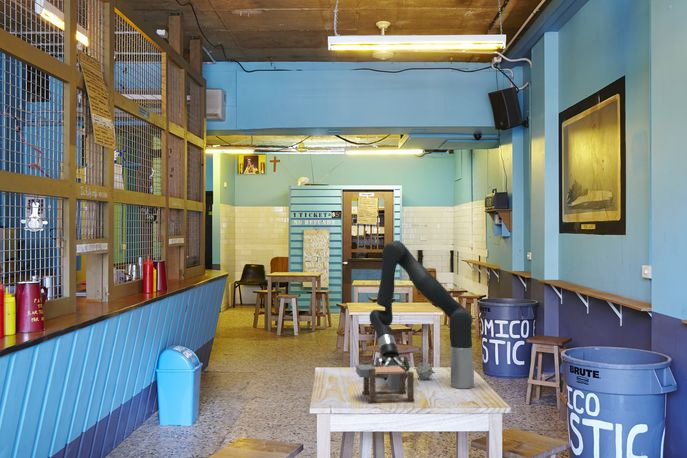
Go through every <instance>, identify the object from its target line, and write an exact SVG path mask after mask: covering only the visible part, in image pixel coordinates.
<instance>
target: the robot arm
mask: <svg viewBox="0 0 687 458" xmlns="http://www.w3.org/2000/svg"><path fill="white" fill-rule="evenodd" d="M381 257H382V258H381V259H382V260H381V262H382V263H381V274H380V281H379V287H378V288H379V289H378V293H377V298H376V304H377V305H378V306H380V307H383V308H384V310H381V309H373V310H371V312H370V314H369V322H370V324H371V326H372V328H373V329H374V331H375V333H376V335H377V341H378V348H379V351H380V356H381V358H380V357H378V356H377V357H376V358H375V360H374V361H375V365H376V367H380V365H381V363H382V365H384V366H383V367H388V365H405V381H406V380H407V372H410V368H411V367H410V363H409V360H408V357H407V356H404V357H400V354H399V351H398V350H399V349H398V346H397V342H396V339H395V336H394V333H393V329H392V326H390V325H391V324H392V323H393V321H394V318H393V317H394V316H393V298H394V293H395V274H396V269H397V266H400V267H401V268H402V269H403V270H404V271H405V272H406V274H407V275H408V277H409V279H410V281H411V282H412V283H411V284H413V286H414V287H415V289H416V290H417V291H419V293H420V294H421V295H422V296H423V297H424V298H425V299H427V300H428V301H429V302H430V303H431V304H434V305H435V306H436V307H438V308H439V309H440V310H441V311H442V312H444V314H445V315H446V316H447V317H448V318H449V341H450V387H451V388H455V389H472V388H475V366H474V364H473V337H472V325H473V321H474V320H473V319H474V318H473V315H472V314H471V312H470V311H469V310H468V309H466V308H465V307H464V306H463V305H461V304H460V303H459V302H458V301H457V300H456V299H455V298H454V297H453V296H452V295H451V294H450V293H449V291H447V289H446V288H445V287H444V286H443V284H441V282H440V281H439V280H438V279H437V278H436V277H435V276H434V275H433V274H432V273H431V272H430V271H428V269H427V268H426V267H425V266H423V265H422V264H421V263H420V262H419V261H418V260H417V259H416V258H415V257H414V255H412V253H411V252H410V251H409V249H408V248H407V246H405V244H404V243H402V242H401V241H397V240H394V241H391V242H388V243H386V244H385V245H384V246H383V247H382V256H381ZM382 377H383V378H382V379H383V380H384V381H385V382H386V381H388V379H387V375H386V374H382Z"/></svg>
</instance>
